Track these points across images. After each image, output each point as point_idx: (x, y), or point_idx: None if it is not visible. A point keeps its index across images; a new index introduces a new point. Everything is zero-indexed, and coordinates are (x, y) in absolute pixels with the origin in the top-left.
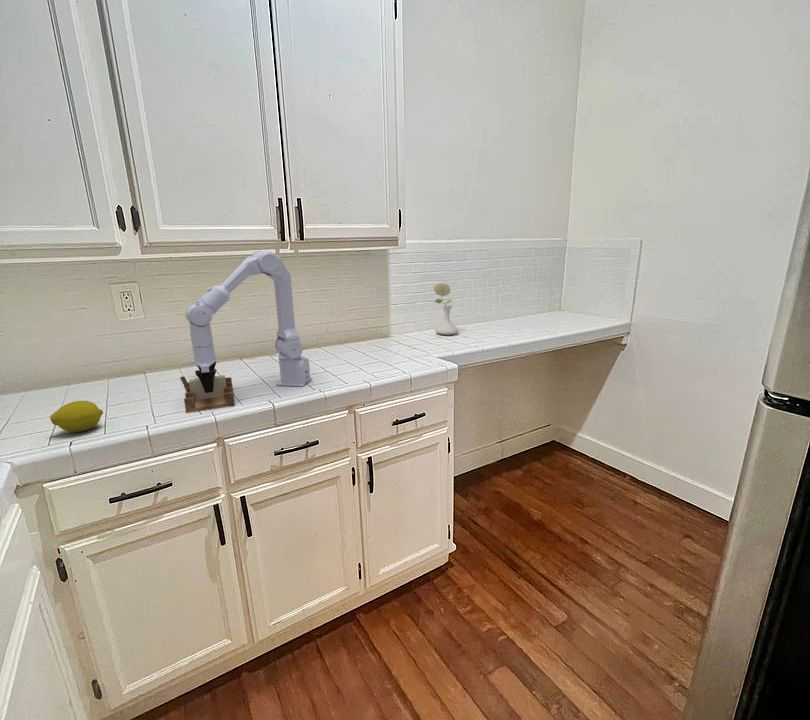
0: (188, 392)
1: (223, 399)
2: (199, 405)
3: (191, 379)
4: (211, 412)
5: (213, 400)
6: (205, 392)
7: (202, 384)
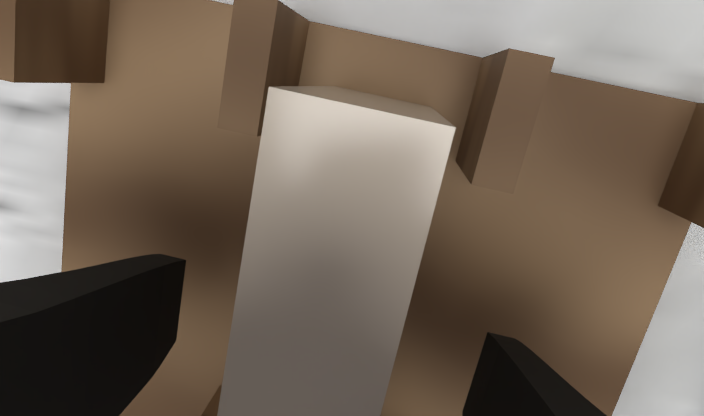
0: (486, 76)
1: (180, 363)
2: (126, 129)
3: (413, 168)
4: (3, 197)
5: (204, 281)
6: (154, 256)
7: (30, 282)
